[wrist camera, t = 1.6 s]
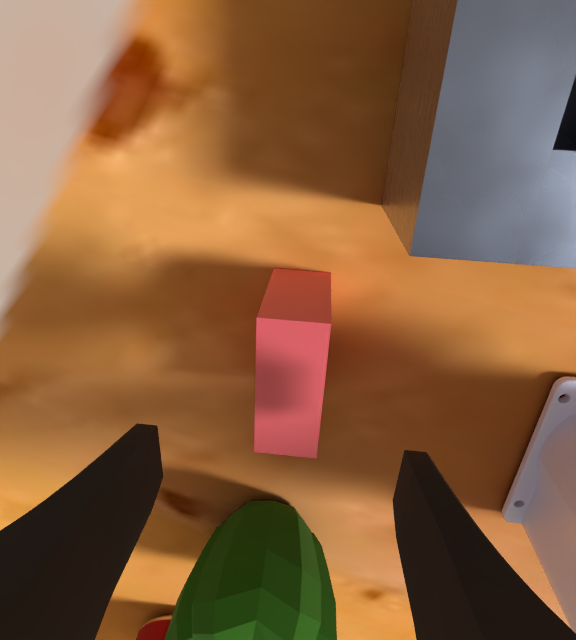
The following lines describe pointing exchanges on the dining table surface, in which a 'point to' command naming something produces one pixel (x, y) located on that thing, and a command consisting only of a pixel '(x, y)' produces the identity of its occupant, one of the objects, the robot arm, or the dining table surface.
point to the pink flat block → (291, 362)
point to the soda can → (155, 628)
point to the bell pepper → (258, 581)
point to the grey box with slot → (486, 133)
